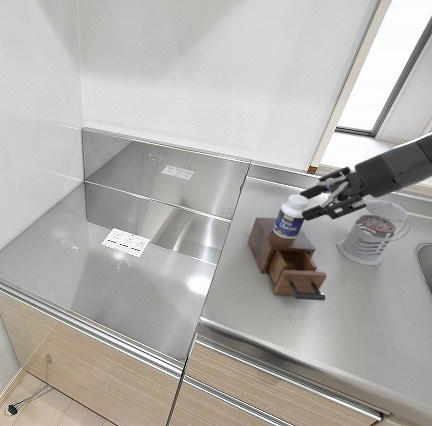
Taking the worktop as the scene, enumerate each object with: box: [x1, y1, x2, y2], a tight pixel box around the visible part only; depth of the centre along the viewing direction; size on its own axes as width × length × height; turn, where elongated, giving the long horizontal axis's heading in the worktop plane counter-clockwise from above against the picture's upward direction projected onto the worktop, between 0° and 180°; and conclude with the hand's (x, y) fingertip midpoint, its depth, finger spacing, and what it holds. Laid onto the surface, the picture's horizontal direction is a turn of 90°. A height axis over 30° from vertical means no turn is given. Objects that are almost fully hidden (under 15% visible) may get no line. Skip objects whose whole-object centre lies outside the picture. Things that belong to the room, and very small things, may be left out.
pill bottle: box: [273, 194, 310, 239], centre depth 68 cm, size 5×5×10 cm
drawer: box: [267, 250, 328, 302], centre depth 66 cm, size 15×8×7 cm, turn 175°
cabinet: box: [247, 217, 316, 275], centre depth 74 cm, size 12×10×9 cm
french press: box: [336, 189, 412, 266], centre depth 70 cm, size 10×12×25 cm
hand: (302, 206), depth 66 cm, fingers open, 8 cm apart
